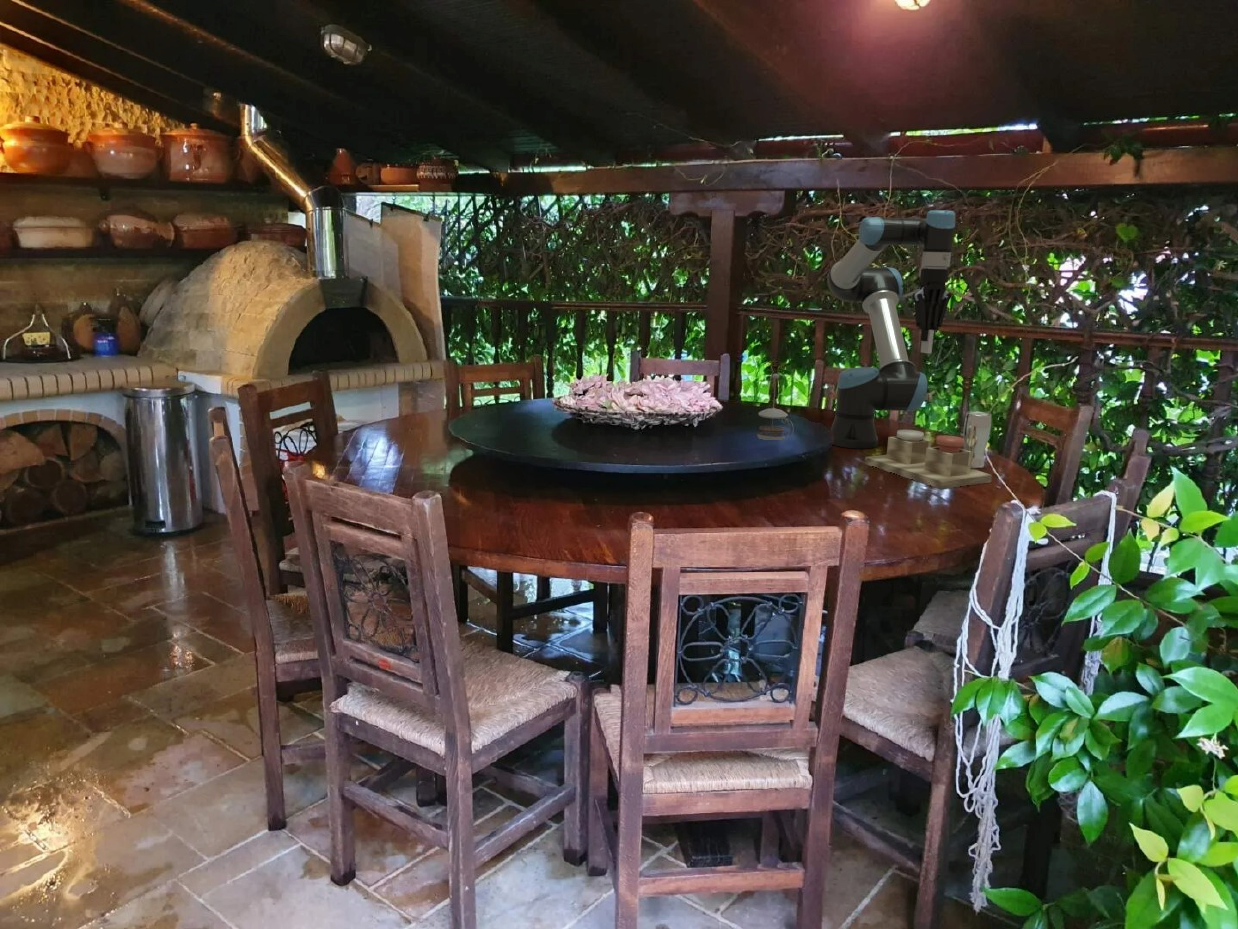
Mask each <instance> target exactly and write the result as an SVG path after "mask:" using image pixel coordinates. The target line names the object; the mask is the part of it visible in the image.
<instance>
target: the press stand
mask: <svg viewBox="0 0 1238 929" xmlns="http://www.w3.org/2000/svg"><path fill="white" fill-rule="evenodd" d="M939 446H940V445H939ZM939 446H932V440H929V439H927V438H923V440H919V441H915V442H908V441H904V440H901V439H900V438H898V437H897V435H896V436H888V440H887V447H886V449H887V450H886V454H883V455H882V454H881V455H875V456H865V458H864V465H866V466H869V467H872V466H874V467H873V468H875V467H877V468H876V469H878V468H879V469H878V470H882V471H884V472H887V473H890V472H892V473H891V474H893V473H895V474H894V475H896V474H897V475H896V476H899V475H900V477H903V478H905V479H909V480H911V479H913V480H912V481H914V480H915V482H917V481H918V483H920V484H924V485H926V486H927V485H928V486H930V485H931V487H933V488H935V489H940V490H948V489H954V487H955V488H960V486H962V487H968V486H967V485H969V486H974V485H982V484H988V483H992V480H993V479H992V478H993V474H989V473H986V472H983V471H981V470H976V469H974V468H970V466H971V458H972V452H971V451H967V450H964V448H960V450H959V452H957V453H947V452H944V451H940V450H939ZM947 488H948V489H947Z"/></svg>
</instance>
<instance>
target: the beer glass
mask: <svg viewBox="0 0 1238 929" xmlns="http://www.w3.org/2000/svg"><path fill="white" fill-rule="evenodd" d="M963 424H964V425H963V438H964V439H965V443H964V446H963V449H964V450H967V451H971V452H972V458H971V466H970V469H983V468H984V467H985V459H984V458H985V456H984V455H985V452H986V448H987V445H988V441H989V440H990V436H991V435H990V434H991V430H992V428H991V427H992V413H990V412H985V411H971V410H970V411H967V412H966V414H965V418H964V423H963Z"/></svg>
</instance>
